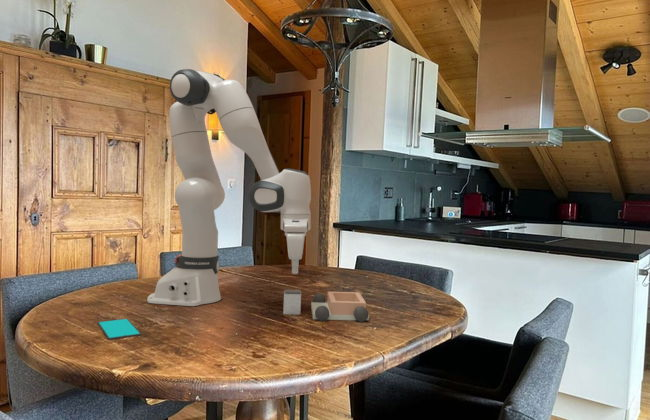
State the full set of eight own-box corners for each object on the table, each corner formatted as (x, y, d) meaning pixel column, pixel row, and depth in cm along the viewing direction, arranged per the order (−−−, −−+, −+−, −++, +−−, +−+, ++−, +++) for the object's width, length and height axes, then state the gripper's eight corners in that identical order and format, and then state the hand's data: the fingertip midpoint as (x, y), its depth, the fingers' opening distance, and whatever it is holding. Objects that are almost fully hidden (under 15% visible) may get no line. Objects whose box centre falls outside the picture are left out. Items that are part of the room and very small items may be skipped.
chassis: (313, 320, 130) (313, 303, 129) (310, 305, 147) (311, 290, 146) (369, 322, 131) (370, 304, 131) (361, 306, 148) (361, 291, 148)
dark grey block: (283, 314, 136) (284, 292, 135) (283, 310, 140) (284, 289, 139) (300, 314, 136) (301, 292, 136) (300, 311, 140) (300, 289, 140)
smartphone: (127, 318, 124) (141, 333, 111) (127, 321, 124) (141, 337, 111) (96, 322, 119) (108, 338, 107) (96, 325, 119) (108, 342, 107)
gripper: (285, 221, 147) (285, 265, 147) (284, 226, 126) (283, 276, 127) (305, 221, 147) (304, 265, 148) (307, 226, 127) (306, 276, 127)
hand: (294, 270), depth 137 cm, fingers open, 8 cm apart
